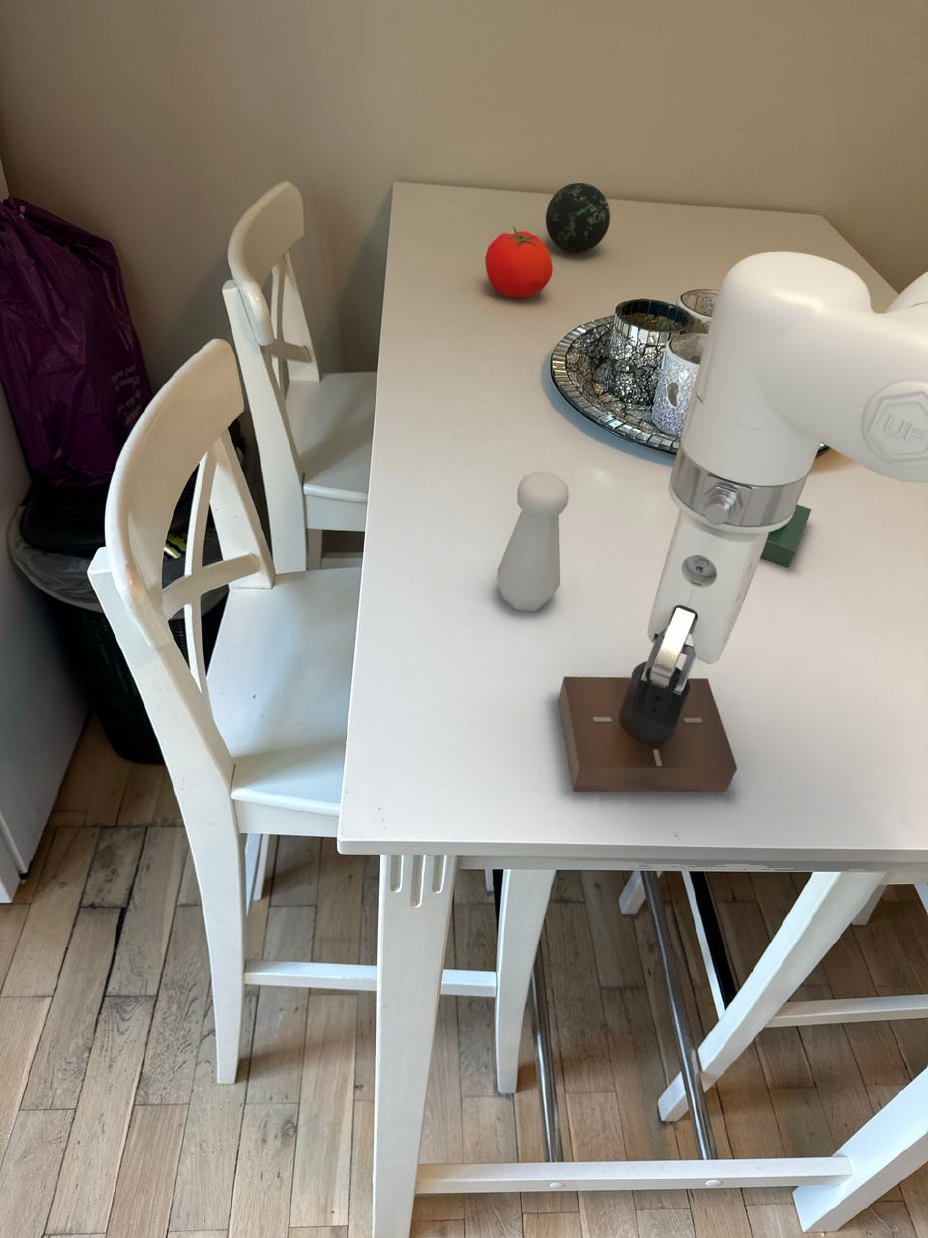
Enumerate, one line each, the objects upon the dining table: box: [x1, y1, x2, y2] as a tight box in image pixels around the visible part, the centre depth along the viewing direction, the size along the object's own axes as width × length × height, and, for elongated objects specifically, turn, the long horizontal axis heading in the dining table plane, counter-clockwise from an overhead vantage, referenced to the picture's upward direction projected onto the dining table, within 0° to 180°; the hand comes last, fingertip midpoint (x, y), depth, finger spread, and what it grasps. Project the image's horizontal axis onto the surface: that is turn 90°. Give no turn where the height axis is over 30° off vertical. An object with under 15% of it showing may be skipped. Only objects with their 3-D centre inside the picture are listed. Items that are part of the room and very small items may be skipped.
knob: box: [620, 660, 691, 743], centre depth 67 cm, size 4×4×5 cm
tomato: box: [484, 225, 554, 299], centre depth 126 cm, size 9×10×8 cm
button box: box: [760, 504, 812, 568], centre depth 91 cm, size 10×8×4 cm
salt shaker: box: [496, 471, 570, 612], centre depth 77 cm, size 6×6×13 cm
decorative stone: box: [545, 182, 611, 254], centre depth 138 cm, size 10×10×10 cm
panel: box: [557, 676, 738, 792], centre depth 69 cm, size 12×9×3 cm
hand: (673, 672), depth 64 cm, fingers open, 9 cm apart
